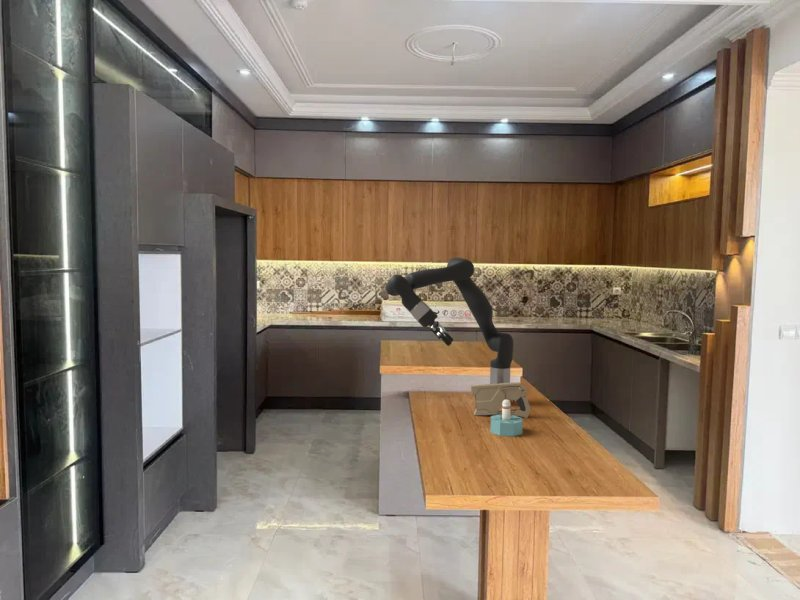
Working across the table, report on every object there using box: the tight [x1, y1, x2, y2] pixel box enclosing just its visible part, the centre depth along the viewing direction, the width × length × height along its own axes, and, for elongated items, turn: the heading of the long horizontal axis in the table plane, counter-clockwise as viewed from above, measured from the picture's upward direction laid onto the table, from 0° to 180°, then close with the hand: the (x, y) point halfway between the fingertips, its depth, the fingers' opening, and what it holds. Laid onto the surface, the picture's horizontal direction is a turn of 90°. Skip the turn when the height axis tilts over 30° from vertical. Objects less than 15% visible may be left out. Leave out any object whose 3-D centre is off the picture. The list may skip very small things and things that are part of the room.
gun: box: [470, 381, 532, 419], centre depth 243 cm, size 24×3×15 cm, turn 84°
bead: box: [490, 414, 524, 437], centre depth 221 cm, size 12×12×5 cm
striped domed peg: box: [501, 399, 512, 421], centre depth 221 cm, size 3×3×13 cm
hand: (451, 343), depth 232 cm, fingers open, 8 cm apart
